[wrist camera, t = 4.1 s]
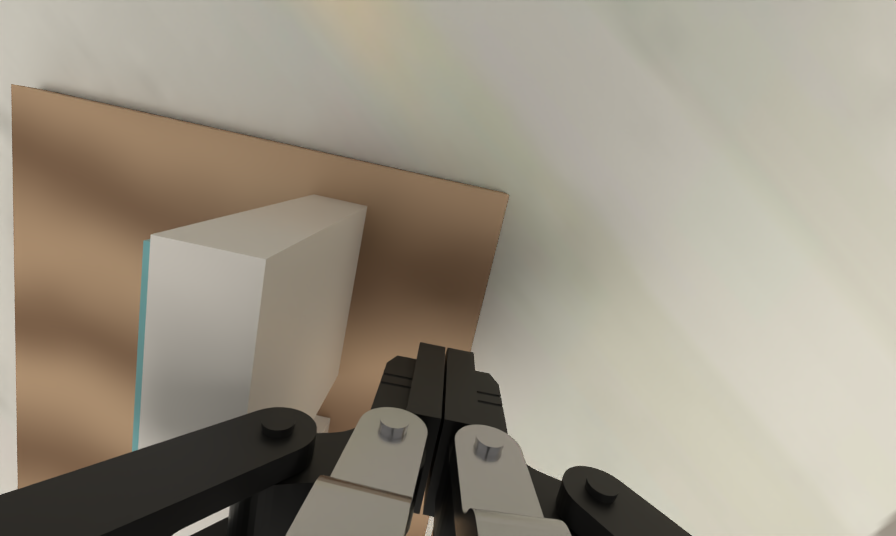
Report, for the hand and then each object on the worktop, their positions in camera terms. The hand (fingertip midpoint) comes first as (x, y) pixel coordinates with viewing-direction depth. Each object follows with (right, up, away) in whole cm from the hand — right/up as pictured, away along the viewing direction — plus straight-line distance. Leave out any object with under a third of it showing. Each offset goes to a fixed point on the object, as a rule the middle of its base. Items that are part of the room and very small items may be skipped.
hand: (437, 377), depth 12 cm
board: (-8, -2, +7) cm, 11 cm away
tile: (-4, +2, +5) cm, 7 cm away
